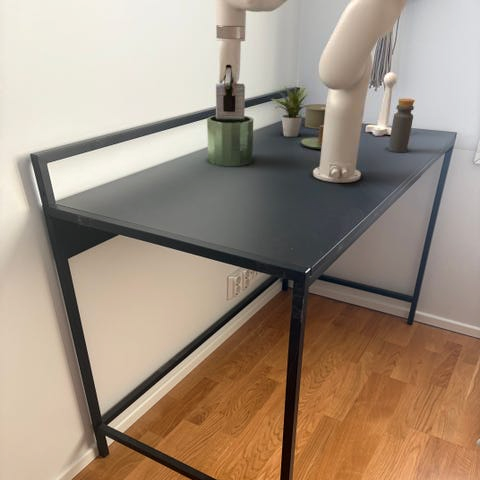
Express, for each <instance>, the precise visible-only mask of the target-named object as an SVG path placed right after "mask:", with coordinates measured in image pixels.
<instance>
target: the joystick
mask: <svg viewBox="0 0 480 480" xmlns="http://www.w3.org/2000/svg"><path fill="white" fill-rule="evenodd" d="M397 81H398V75H397V74H396V73H395V72H393V71H389V72H387V73H386V74H385V75H384V77H383V84H384V87H385V89H384V94H383V99H382V103H381V107H380V113H379V116H378V117H379V118H378V121H377V124H368V125H366V126H365V132H367V133H372V135H373V136H374V137H383V136H384V135H391V129H392V126H389V121H390V113H391V103H392V96H393V88H394V86H395V85H396V84H397Z"/></svg>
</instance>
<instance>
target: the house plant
mask: <svg viewBox="0 0 480 480" xmlns="http://www.w3.org/2000/svg"><path fill="white" fill-rule="evenodd" d="M284 89H285V90H286V92H287V93H286V94H287V96H285V94H283V93H282V92H281V91H278V90H273V92H274V91H275V92H276V93H277V92H278V93H277V94H278V95H280V96H281V97H282V98H283V99H284V101H283V100H280V99H275V98H270V100H271V101H274V102H277V103H274V104H275V105H276V104H277V105H278V106H275V108H274V110H276V109H278V108H282V110H284V111H285V112H286V114H283V115H281V123H282V132H283V133H282V134H283V137H288V138H289V137H290V138H295V137H298V136H299V133H300V129H301V124H302V120H303V116H302V115H300V114H298V113H299V112H300V111H301V110H303V109H304V108H306V105H304V103H302V102H303V101H304V100H305V98H306V97H307V96H308V95H309V93H306V92H307V87H301V88H299V90H298V91H297V85H295V87H294V90H293V92H292V91H290V89H288V88H287V87H286V86H284ZM305 93H306V94H305Z"/></svg>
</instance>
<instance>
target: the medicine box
mask: <svg viewBox="0 0 480 480" xmlns="http://www.w3.org/2000/svg"><path fill="white" fill-rule="evenodd" d="M223 96H224V82H222V83H219V82H217V83H215V116H216V119H244V116H245V105H246V104H245V102H246V101H245V100H246V99H245V98H246V97H245V96H246V85H245V83H238V82H237V83H235V91H234V96H235V112H224V111H223Z"/></svg>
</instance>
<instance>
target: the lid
mask: <svg viewBox="0 0 480 480" xmlns="http://www.w3.org/2000/svg"><path fill="white" fill-rule="evenodd" d="M323 129H324V125H320V126H319V129H318V136H316V137H305V138H303V139H301V141H300V144H301V146H303V147H306V148H310V149H314V150H321V148H322V138H323Z"/></svg>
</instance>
